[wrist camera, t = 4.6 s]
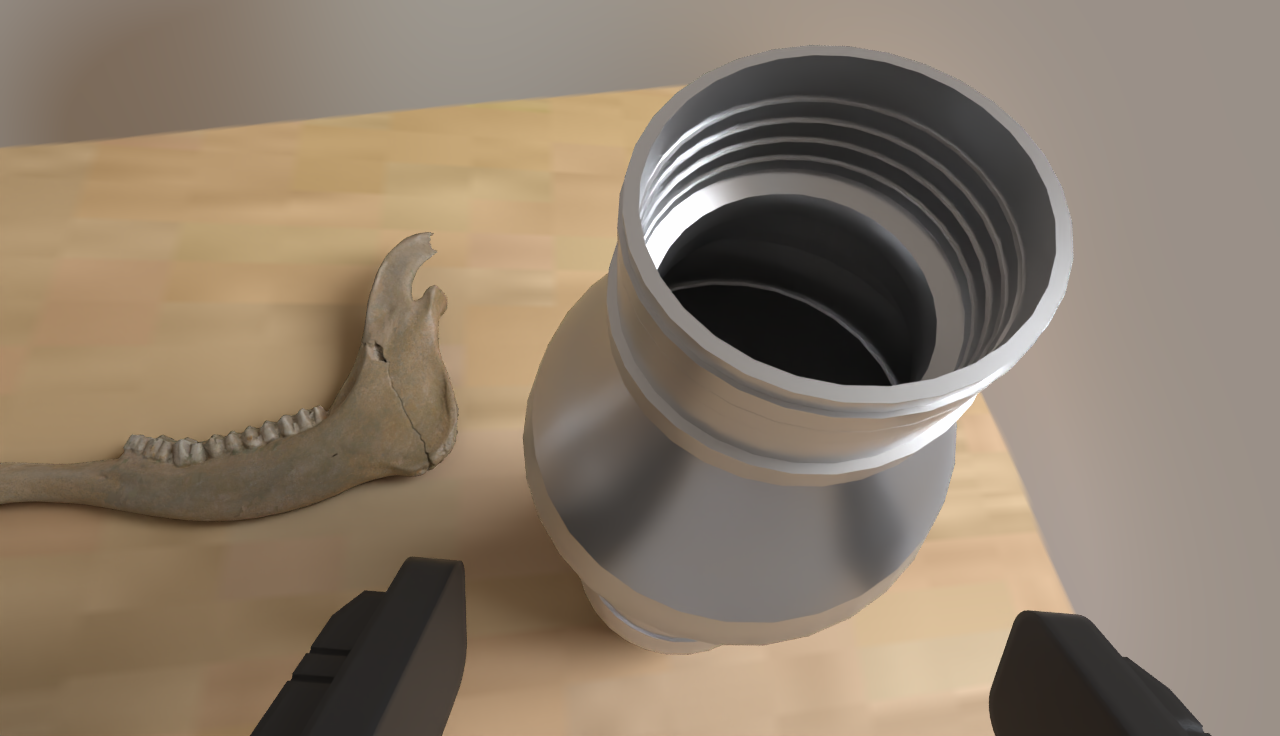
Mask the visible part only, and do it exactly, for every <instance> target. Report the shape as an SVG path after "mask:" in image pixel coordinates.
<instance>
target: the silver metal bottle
mask: <svg viewBox="0 0 1280 736" xmlns="http://www.w3.org/2000/svg"><path fill="white" fill-rule="evenodd" d="M617 239H618V241H617V245H616V248H615V251H614V254H613V257H612V260H611V263H610V267H609V273H608V274H606V275H605V276H604V277H602V278H601V279H600V280H598V281H597V282H596V283H595V284H593V285H592V286H591V287H590V288H589V289H588V290H587V291H586V292H585V293H584V295H583V296H582V297H581V298H580V299H579V300H578V301H577V302H576V303H575V305H574V306H573V307H572V308H571V309H570V310H569V311H568V312H567V314H566V315H565V317H564V319H563V321H562V322H561V324H560V326H559V327H558V329H557V331H556V332H555V334H554V336H553V337H552V339H551V341H550V342H549V344H548V346H547V349H546V351H545V354H544V356H543V358H542V361H541V363H540V366H539V369H538V372H537V374H536V377H535V380H534V383H533V386H532V389H531V392H530V395H529V398H528V401H527V409H526V417H525V425H524V433H523V445H524V457H525V469H526V479H527V482H528V485H529V488H530V491H531V494H532V498H533V501H534V504H535V507H536V510H537V513H538V517H539V519H540V520H541V522H542V524H543V526H544V527H545V529H546V531H547V533H548V534H549V536H550V538H551V540H552V541H553V543H554V545H555V547H556V549H557V550H558V552H559V554H560V555H561V556H562V557H563V559H564V560H565V561H566V562H567V563H568V564H569V565H570V566H571V568H572V569H573V570H574V571H575V572H576V573H577V574H578V575H579V577H580V579H581V582H582V585H583V588H584V591H585V594H586V596H587V598H588V600H589V601H590V603H591V605H592V607H593V608H594V610H595V612H596V613H597V614H598V615H599V617H600V618H601V619H602V620H603V621H604V622H605V623H606V625H607V626H608V627H609V628H610V629H612V630H613V631H614V632H616V633H617V634H618V635H620V636H621V637H622V638H624V639H625V640H626V641H628V642H630V643H633V644H635V645H637V646H639V647H641V648H643V649H646V650H650V651H654V652H658V653H663V654H673V655H689V654H694V653H699V652H704V651H709V650H712V649H714V648H716V647H719V646H721V645H768V644H773V643H778V642H783V641H788V640H792V639H797V638H802V637H807V636H810V635H813V634H815V633H817V632H820V631H822V630H824V629H826V628H829V627H831V626H833V625H836V624H838V623H840V622H842V621H845V620H847V619H849V618H851V617H852V616H854V615H855V614H857V613H858V612H859V611H861V610H862V609H863V608H865V607H866V606H867V605H869V604H870V603H872V602H873V601H874V600H876V599H877V598H878V597H880V596H881V595H883V594H884V593H885V592H886V591H887V590H888V589H889V588H890V587H891V586H892V585H893V583H894V582H895V581H896V580H897V579H898V578H899V576H900V575H901V574H902V573H903V572H904V571H905V570H906V568H907V567H908V566H909V565H910V564H911V563H912V562H913V560H914V559H915V557H916V555H917V553H918V552H919V550H920V548H921V546H922V544H923V542H924V540H925V539H926V537H927V535H928V533H929V531H930V529H931V527H932V526H933V524H934V522H935V520H936V518H937V516H938V514H939V512H940V510H941V508H942V506H943V503H944V501H945V497H946V494H947V490H948V487H949V483H950V479H951V476H952V472H953V468H954V465H955V449H956V428H957V424H956V421H957V419H958V418H959V417H960V416H961V415H962V414H963V413H964V412H965V411H966V410H967V409H968V408H969V407H970V405H971V404H972V403H973V401H974V399H975V397H976V395H977V394H978V393H979V392H981V391H982V390H983V389H985V388H986V387H987V386H988V385H990V384H991V383H993V382H994V381H995V380H997V379H998V378H1000V377H1001V376H1002V375H1004V374H1005V373H1006V372H1008V371H1009V370H1010V369H1011V368H1012V367H1013V366H1014V365H1015V364H1016V363H1017V362H1018V361H1019V359H1020V358H1021V357H1022V356H1023V355H1024V354H1025V353H1026V352H1027V350H1029V349H1030V348H1031V346H1032V345H1033V344H1034V343H1035V342H1036V341H1037V339H1038V337H1039V335H1040V334H1041V333H1042V332H1043V331H1044V330H1045V329H1046V327H1048V325H1049V323H1050V321H1051V319H1052V317H1053V315H1054V313H1055V312H1056V310H1057V308H1058V306H1059V304H1060V302H1061V300H1062V299H1063V297H1064V295H1065V292H1066V288H1067V284H1068V279H1069V275H1070V271H1071V266H1072V262H1073V234H1072V221H1071V217H1070V213H1069V210H1068V206H1067V202H1066V199H1065V195H1064V192H1063V189H1062V187H1061V184H1060V183H1059V181H1058V179H1057V177H1056V175H1055V173H1054V171H1053V169H1052V168H1051V166H1050V164H1049V162H1048V160H1047V158H1046V156H1045V155H1044V154H1043V152H1042V151H1041V150H1040V149H1039V147H1038V146H1037V145H1036V144H1035V142H1034V141H1033V140H1032V139H1031V137H1030V136H1029V135H1028V134H1027V133H1026V131H1025V130H1024V129H1023V127H1022V126H1021V125H1019V124H1018V123H1017V122H1016V121H1015V120H1014V119H1013V118H1012V117H1010V116H1009V115H1008V114H1007V113H1006V112H1005V111H1004V110H1002V109H1001V108H1000V107H999V106H998V105H997V104H996V103H995V102H993V101H992V100H990V99H989V98H987V97H986V96H984V95H983V94H981V93H980V92H978V91H976V90H975V89H973V88H972V87H970V86H969V85H967V84H965V83H964V82H963V81H961V80H959V79H957V78H955V77H952V76H950V75H948V74H946V73H943V72H941V71H939V70H937V69H935V68H933V67H931V66H928V65H926V64H923V63H920V62H917V61H913V60H910V59H907V58H904V57H900V56H897V55H894V54H890V53H887V52H881V51H874V50H868V49H862V48H856V47H850V46H818V45H809V46H800V47H792V48H782V49H774V50H769V51H766V52H762V53H758V54H754V55H750V56H747V57H743V58H739V59H736V60H734V61H732V62H730V63H727V64H725V65H723V66H721V67H719V68H716V69H714V70H712V71H709V72H707V73H705V74H704V75H702V76H701V77H699V78H698V79H696V80H695V81H693V82H692V83H690V84H689V85H687V86H686V87H684V88H683V89H681V90H680V91H678V92H677V93H676V94H675V95H674V96H673V97H672V98H671V99H670V100H669V101H668V102H667V103H666V104H665V105H664V106H663V107H662V108H661V109H660V110H659V111H658V112H657V113H656V114H655V115H654V116H653V118H652V119H651V121H650V122H649V124H648V126H647V127H646V129H645V130H644V132H643V134H642V135H641V137H640V138H639V140H638V142H637V143H636V145H635V148H634V151H633V154H632V157H631V160H630V163H629V166H628V169H627V172H626V175H625V179H624V182H623V185H622V189H621V192H620V199H619V213H618V227H617Z"/></svg>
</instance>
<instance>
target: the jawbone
mask: <svg viewBox="0 0 1280 736" xmlns="http://www.w3.org/2000/svg"><path fill="white" fill-rule="evenodd" d="M433 234H434V233H431V232H426V233H418V234H415V235H412V236H409V237H407V238H405V239H404V240H402V241H401V242H400V243H399V244H398V245H397V246H396V247H394V248H393V249H392V250H391V251H390V252H389V253H388V255H387V256H386V257H385V259H384V260H383V262H382V264H381V266H380V268H379V270H378V272H377V274H376V277H375V280H374V283H373V286H372V290H371V292H370V296H369V300H368V304H367V312H366V320H365V328H364V333H363V337H362V344H361V347H360V349H359V353H358V356H357V359H356V361H355V364H354V366H353V368H352V370H351V373H350V374H349V376H348V378H347V379H346V381H345V382H344V384H343V386H342V388H341V389H340V391H339V393H338V395H337V397H336V398H335V401H334V402H333V404H332V406H331V407H330V409H329V410H328V411H325V410H324V408H323V407H321V406H320V405H319V406H317V407H314V408H313V409H312V410H305V409H303V408H302V409H300V410H299V412H298V413H297V414H296V415H292V416H291V415H283V416H282V417H281V418H280V420H279V421H278V422H277V423H276V422H270V421H265V422H264V424H263V425H262V427H261V428H254V427H251V426H248V427H247V428H246V430H245V431H244V432H243V433H237V432H235V431H231V432H230V433H229V434H228V435H227V436H225V437H223V436H221V435H215V434H214V435H212V436H211V438H210V439H209V440H208V441H203V442H197V441H196V440H193V439H190V438H188V437H187V438H185V439H180V440H179V441H174V439H172V438H168V437H166V436H164V435H161V436H159V437H158V438H153V439H152V438H151V437H145V436H144V435H133V434H132V435H131V436H130V437H129V439H128V441H127V442H126V444H125V445H124V447H123V448H124V450H125V451H124V453H123V454H122V456H121V457H120V458H118V459H112V460H101V461H94V462H86V463H76V464H38V463H0V504H5V503H12V502H26V501H44V502H59V503H75V504H84V505H92V506H99V507H104V508H111V509H116V510H121V511H127V512H132V513H138V514H144V515H151V516H157V517H164V518H172V519H182V520H195V521H229V520H242V519H251V518H257V517H263V516H268V515H274V514H279V513H283V512H287V511H291V510H294V509H298V508H301V507H305V506H308V505H310V504H313V503H316V502H319V501H322V500H325V499H327V498H330V497H333V496H335V495H337V494H340V493H342V492H343V491H345V490H347V489H349V488H352V487H354V486H356V485H359V484H362V483H365V482H368V481H371V480H374V479H378V478H382V477H386V476H392V475H402V476H418V475H422V474H424V473H425V472H426V470H432V469H433V468H434V467H435V466H436V465H437V464H439V463H441V462H442V461H443V459H444V458H445V457H446V456H447V455H448V454H449V453H450V452H451V450H452V448H453V446H454V444H455V442H456V434H457V433H458V432H457V420H458V415H459V414H458V410H459V409H458V406H457V403H456V399H455V396H454V391H453V388H452V385H451V382H450V378H449V375H448V372H447V370H446V368H445V366H444V363H443V361H442V358H441V353H440V350H439V342H438V339H439V338H438V326H439V325H438V324H439V317H440V316H441V315H443V314H444V312H445V311H446V309H447V297H446V295H445V293H443V292H442V290H441V289H440V288H439V287H438V286H436V285H433V286H431V287H429V288H428V289H427V290H426V291H425V293H424V295H423V297H422V298H420V299H419V300H416V301H414V300H413V299H412V283H413V280H414V277H415V274H416V272H417V270H418V269H419V267H420V266H421V265H422V264H423V263H424V262H425V261H426V260H428V259H429V258H430V257H432V255H434V254H435V253H437V251H436V250H434V249H432V248H431V244H430V243H429V242H430V236H432V235H433Z"/></svg>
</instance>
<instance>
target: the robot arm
mask: <svg viewBox="0 0 1280 736" xmlns="http://www.w3.org/2000/svg"><path fill="white" fill-rule="evenodd" d="M466 649H467V632H466V597H465V570H464V565H463V563H462V561H457V560H445V559H433V558H422V557H409V558H407V559H406V560H405V562H404V563H403V565H402V566H401V568H400V570H399V571H398V573H397V575H396V576H395V578H394V580H393V581H392V583H391V585H390V586H389V588H388V590H387V591H386V592H377V591H363V592H362V593H361V594H360V595H358V596H357V597H356V598H354V599H353V600H352V601H350V602H349V603H348V604H346V605H345V606H344V607H343V608H341V609H340V610H339V611H337V612H336V613H335V614H333V615H332V616H331V618H330V619H329V621H328V622H327V624H326V625H325V627H324V628H323V630H322V631H321V633H320V634H319V635H318V637H317V638H316V640H315V641H314V643H313V644H312V646H311V650H310V652H309V653H306V654H305V656H304V657H303V659H302V660H301V662H300V663H299V665H298V666H297V668H296V669H295V671H294V672H293V673H292V674H293V675H292V679H291V681H287V682H286V684H285V685H284V687H283V688H282V690H281V691H280V693H279V694H278V695H277V697H276V698H275V700H274V701H273V703H272V704H271V706H270V707H269V709H268V710H267V712H266V713H265V714H264V716H263V717H262V719H261V720H260V722H259V723H258V725H257V726H256V728H255V729H254V731H253V732H252V733H251V735H250V736H442V734H443V731H444V729H445V726H446V723H447V720H448V718H449V715H450V712H451V710H452V707H453V704H454V701H455V699H456V696H457V693H458V690H459V687H460V684H461V680H462V676H463V671H464V666H465V659H466ZM989 712H990V719H991V724H992V727H993V730H994V733H995V736H1211V735H1210V734H1209V733H1204V732H1203V729H1202V727H1203V726H1202V725H1201V724H1200V722H1199V721H1198V720H1197V719H1196V718H1195V717H1194V716H1193V715H1192V713H1190V711H1189V710H1188V709H1187V708H1186V707H1185V706H1184V704H1183V703H1182V702H1181V701H1180V700H1179V699H1178V698H1177V697H1176V696H1175V695H1174V693H1173V692H1172V691H1171V690H1170V689H1169V688H1168V687H1166V686H1165V685H1164V684H1162V683H1161V682H1160V681H1158V680H1157V679H1156V678H1154V677H1153V676H1152V675H1150V674H1149V673H1148V672H1146V671H1145V670H1144V669H1142V668H1141V667H1140V666H1138V665H1137V664H1136V663H1134V662H1133V661H1132V660H1130V659H1129V658H1128V657H1122V656H1121V655H1120V654H1119V653H1118V652H1117V650H1116V649H1115V648H1114V647H1113V646H1112V645H1111V643H1110V642H1109V641H1108V640H1107V639H1106V638H1105V636H1104V635H1103V634H1102V633H1101V632H1100V631H1099V630H1098V628H1097V627H1096V626H1095V625H1094V624H1093V623H1092V622H1091V621H1090V620H1089V619H1087V618H1086V617H1084V616H1082V615H1076V614H1064V613H1052V612H1040V611H1029V610H1027V611H1023V612H1021V613H1020V614H1018V616H1017V617H1016V619H1015V621H1014V623H1013V626H1012V629H1011V632H1010V635H1009V637H1008V640H1007V643H1006V646H1005V649H1004V652H1003V655H1002V658H1001V661H1000V664H999V666H998V669H997V672H996V675H995V678H994V681H993V684H992V687H991V690H990V696H989Z"/></svg>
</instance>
